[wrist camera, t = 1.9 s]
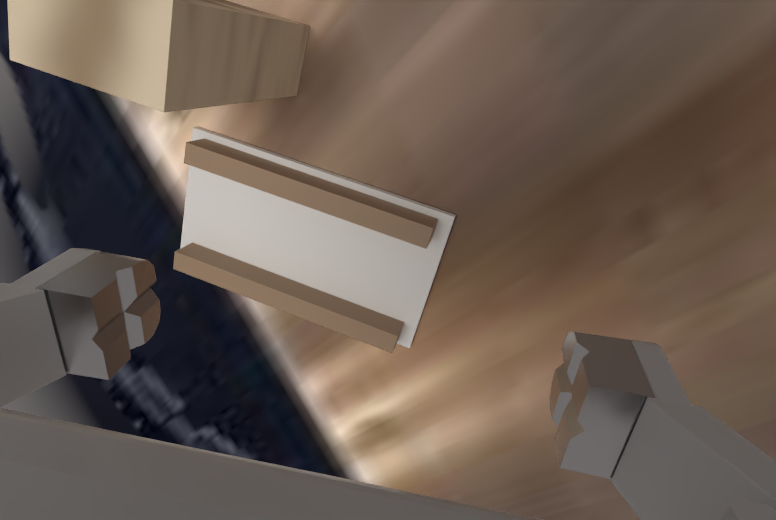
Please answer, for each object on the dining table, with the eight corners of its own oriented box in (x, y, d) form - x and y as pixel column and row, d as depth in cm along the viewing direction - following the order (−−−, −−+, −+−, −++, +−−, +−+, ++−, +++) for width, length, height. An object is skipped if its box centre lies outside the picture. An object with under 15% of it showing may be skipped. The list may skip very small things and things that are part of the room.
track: (183, 257, 42) (161, 269, 39) (197, 126, 37) (174, 130, 35) (411, 344, 39) (403, 363, 37) (455, 214, 35) (450, 226, 32)
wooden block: (193, 62, 36) (10, 59, 23) (200, -8, 34) (5, -52, 21) (296, 95, 35) (164, 112, 22) (310, 26, 33) (173, -1, 20)
